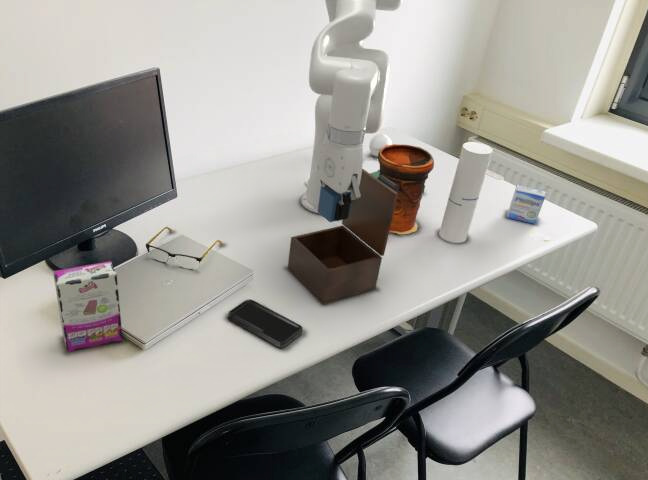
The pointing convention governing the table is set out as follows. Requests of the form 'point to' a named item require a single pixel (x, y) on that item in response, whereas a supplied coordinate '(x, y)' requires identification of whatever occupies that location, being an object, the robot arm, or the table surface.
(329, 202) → the block
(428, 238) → the table surface
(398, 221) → the vessel
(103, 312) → the candy bar box
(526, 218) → the medicine box
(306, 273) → the chest
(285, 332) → the phone
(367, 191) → the lid
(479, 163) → the cylindrical container
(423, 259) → the table surface
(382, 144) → the white rounded piece
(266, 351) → the table surface
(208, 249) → the eyeglasses
